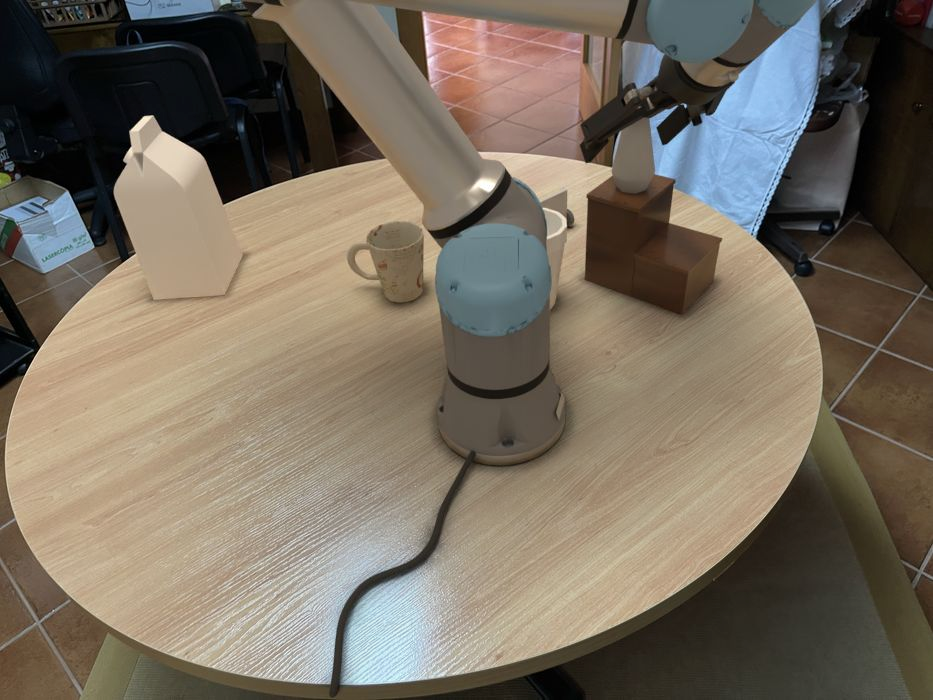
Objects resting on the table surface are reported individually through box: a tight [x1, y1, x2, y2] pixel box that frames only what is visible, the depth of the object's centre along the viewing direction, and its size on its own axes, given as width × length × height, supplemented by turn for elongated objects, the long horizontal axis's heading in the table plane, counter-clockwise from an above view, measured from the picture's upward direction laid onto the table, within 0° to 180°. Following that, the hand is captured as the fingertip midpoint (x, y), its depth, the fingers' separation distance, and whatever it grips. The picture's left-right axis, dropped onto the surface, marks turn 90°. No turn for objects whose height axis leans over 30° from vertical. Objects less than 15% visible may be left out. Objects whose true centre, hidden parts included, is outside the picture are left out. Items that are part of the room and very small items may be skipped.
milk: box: [113, 115, 244, 301], centre depth 106 cm, size 12×12×26 cm
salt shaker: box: [611, 98, 656, 194], centre depth 93 cm, size 6×6×13 cm
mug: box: [346, 220, 425, 303], centre depth 104 cm, size 8×13×10 cm, turn 78°
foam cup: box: [543, 208, 568, 311], centre depth 98 cm, size 10×9×13 cm
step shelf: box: [584, 173, 723, 315], centre depth 99 cm, size 10×16×14 cm, turn 50°
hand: (623, 144), depth 96 cm, fingers open, 11 cm apart
